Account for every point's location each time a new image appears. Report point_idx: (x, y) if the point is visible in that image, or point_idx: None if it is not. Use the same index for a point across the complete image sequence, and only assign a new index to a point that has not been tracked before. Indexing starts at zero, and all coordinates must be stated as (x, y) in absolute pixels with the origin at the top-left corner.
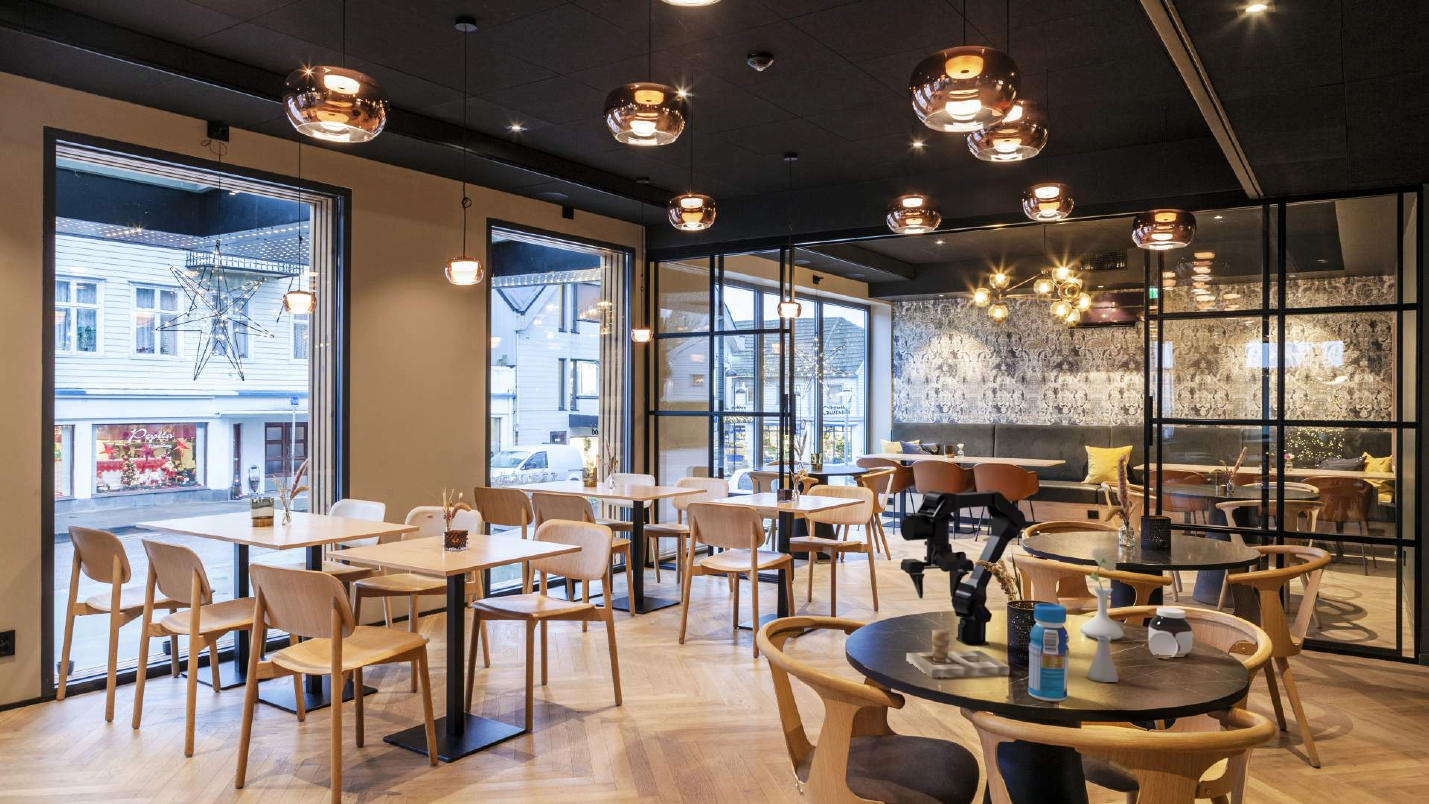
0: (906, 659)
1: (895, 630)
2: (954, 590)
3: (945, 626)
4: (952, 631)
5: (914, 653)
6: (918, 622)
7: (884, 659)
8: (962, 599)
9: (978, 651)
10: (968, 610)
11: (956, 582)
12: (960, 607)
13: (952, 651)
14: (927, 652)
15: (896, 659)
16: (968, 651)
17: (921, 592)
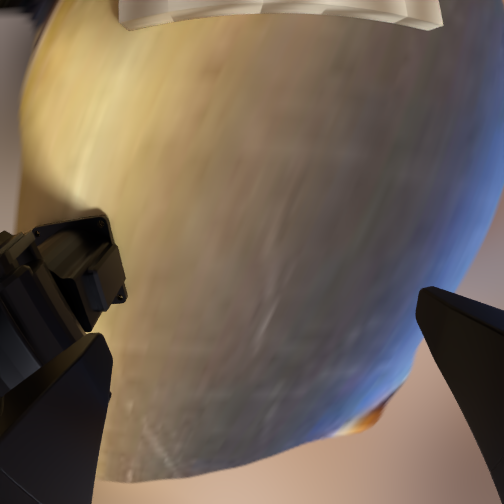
0: (430, 29)
1: (301, 389)
2: (63, 366)
3: (133, 416)
4: (121, 379)
5: (420, 12)
6: (199, 445)
7: (477, 70)
8: (38, 348)
9: (132, 7)
10: (34, 266)
11: (5, 422)
12: (70, 320)
13: (253, 2)
14: (369, 8)
15: (449, 58)
16: (178, 2)
17: (468, 304)
